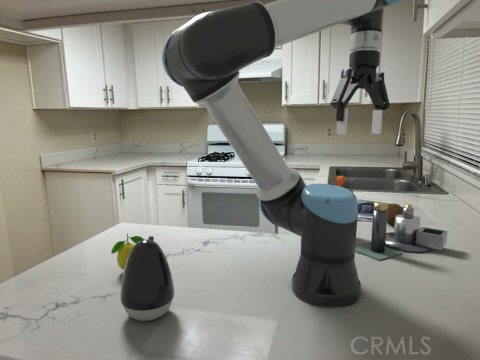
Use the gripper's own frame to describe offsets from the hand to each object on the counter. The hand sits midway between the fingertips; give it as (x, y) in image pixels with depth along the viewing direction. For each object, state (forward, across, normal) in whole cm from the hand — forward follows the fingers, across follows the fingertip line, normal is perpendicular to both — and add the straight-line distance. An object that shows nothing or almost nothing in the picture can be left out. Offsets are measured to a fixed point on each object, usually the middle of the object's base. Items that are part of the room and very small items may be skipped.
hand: (359, 134), depth 96 cm
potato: (+34, +36, +12) cm, 51 cm away
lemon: (+35, -57, +21) cm, 70 cm away
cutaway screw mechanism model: (+34, +8, +14) cm, 38 cm away
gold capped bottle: (+34, +8, -2) cm, 35 cm away
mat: (+34, +8, -2) cm, 35 cm away
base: (+34, +22, -2) cm, 41 cm away
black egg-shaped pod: (+35, -59, -1) cm, 68 cm away
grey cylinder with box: (+33, +23, -5) cm, 40 cm away
